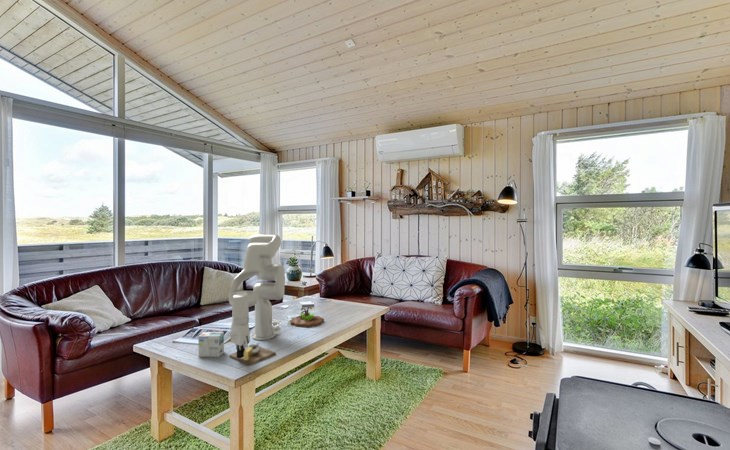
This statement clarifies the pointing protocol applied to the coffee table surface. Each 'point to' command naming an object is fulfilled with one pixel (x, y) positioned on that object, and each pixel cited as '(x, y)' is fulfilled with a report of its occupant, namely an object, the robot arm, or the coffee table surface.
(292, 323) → the plant
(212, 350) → the light bulb box
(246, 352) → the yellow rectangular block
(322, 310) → the coffee table surface
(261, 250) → the robot arm
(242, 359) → the wooden cheese board
